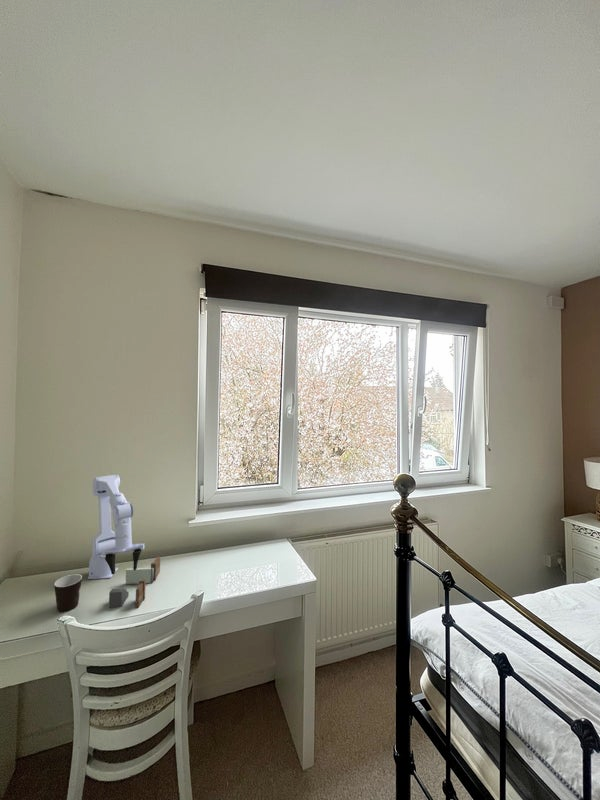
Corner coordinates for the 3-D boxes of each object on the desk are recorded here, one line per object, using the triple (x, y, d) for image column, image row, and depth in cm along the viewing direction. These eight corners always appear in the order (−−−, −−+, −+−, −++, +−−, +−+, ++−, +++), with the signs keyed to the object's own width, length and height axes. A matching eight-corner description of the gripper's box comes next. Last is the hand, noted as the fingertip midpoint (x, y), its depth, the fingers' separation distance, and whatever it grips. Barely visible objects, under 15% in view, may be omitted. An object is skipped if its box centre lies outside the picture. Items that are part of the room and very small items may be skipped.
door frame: (134, 607, 121) (134, 587, 121) (156, 571, 146) (156, 555, 146) (139, 607, 121) (140, 587, 121) (160, 571, 146) (161, 555, 146)
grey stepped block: (121, 607, 121) (121, 591, 121) (108, 608, 120) (109, 592, 120) (128, 596, 128) (128, 581, 128) (116, 597, 127) (117, 582, 127)
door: (153, 581, 138) (153, 567, 138) (152, 582, 137) (153, 568, 137) (126, 582, 137) (126, 568, 137) (125, 584, 136) (125, 569, 136)
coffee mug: (72, 614, 117) (73, 586, 117) (47, 614, 116) (48, 587, 116) (90, 594, 128) (91, 569, 128) (68, 595, 128) (68, 570, 128)
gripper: (99, 541, 120) (100, 579, 119) (141, 535, 124) (142, 571, 123) (105, 536, 127) (106, 572, 126) (145, 530, 131) (146, 564, 129)
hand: (124, 571), depth 125 cm, fingers open, 7 cm apart
